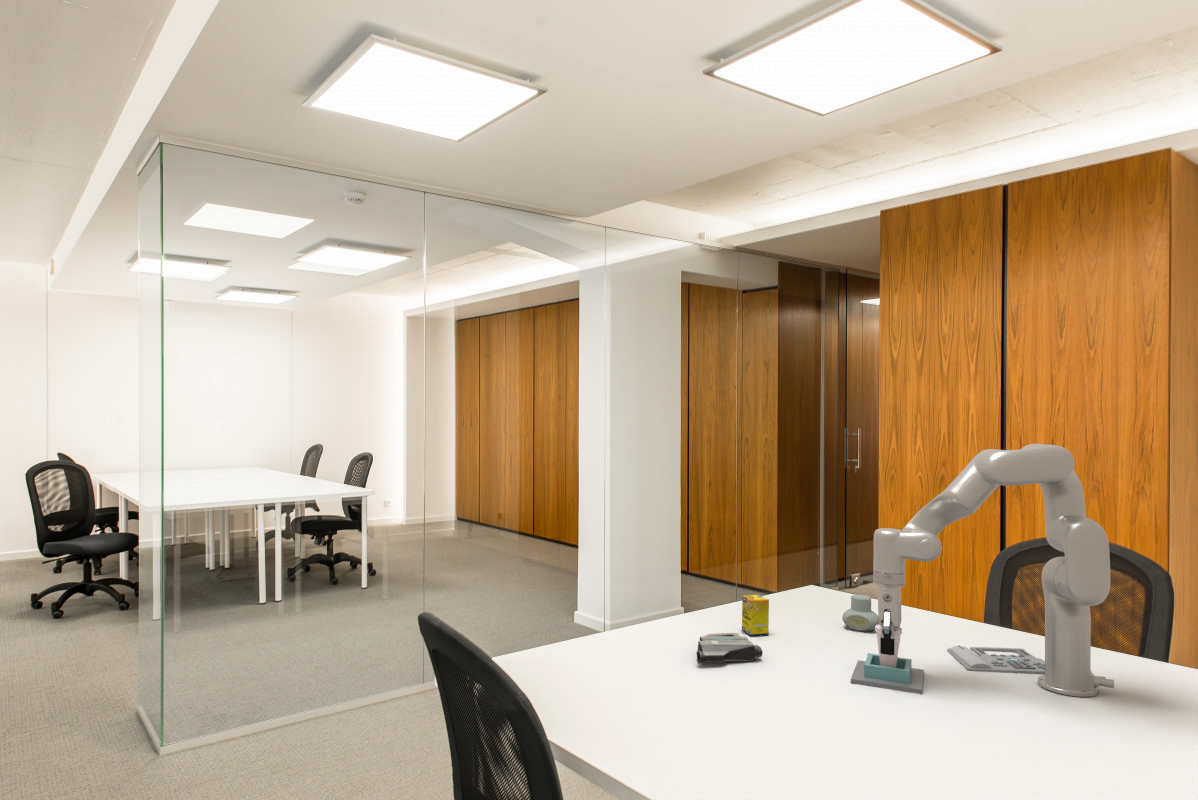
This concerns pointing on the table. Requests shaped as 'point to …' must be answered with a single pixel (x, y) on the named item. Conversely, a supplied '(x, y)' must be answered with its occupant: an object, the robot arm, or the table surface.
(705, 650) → the camcorder
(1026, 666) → the office telephone
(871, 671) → the mount
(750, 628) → the supplement box
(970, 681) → the table surface
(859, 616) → the air freshener
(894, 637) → the smoothie
